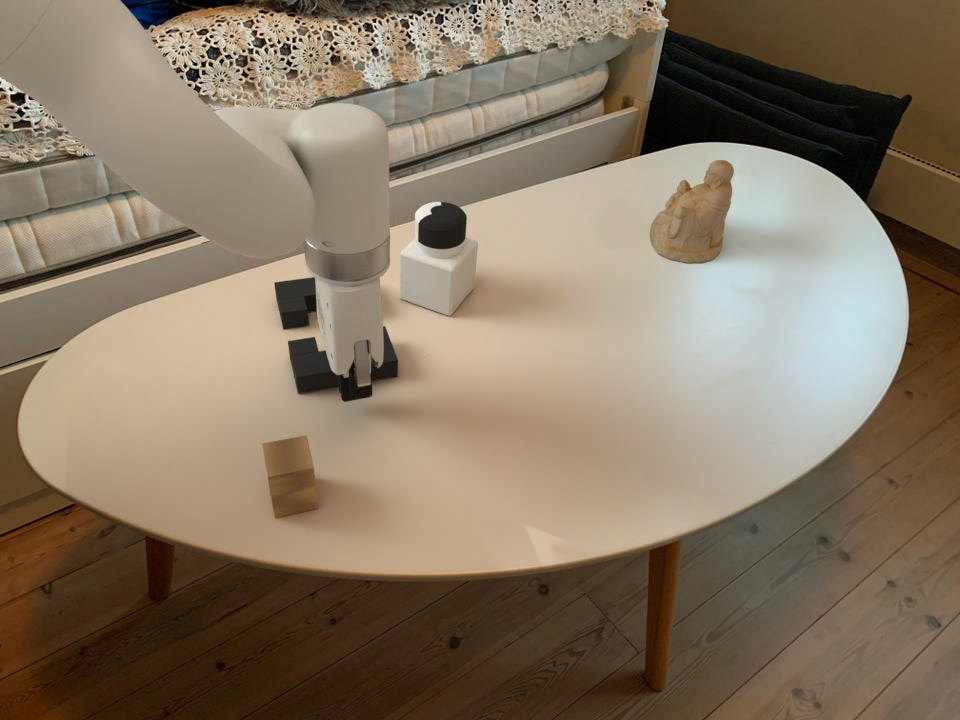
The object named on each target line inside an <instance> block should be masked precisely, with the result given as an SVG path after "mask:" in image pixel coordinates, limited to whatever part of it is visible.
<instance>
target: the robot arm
mask: <svg viewBox="0 0 960 720" xmlns="http://www.w3.org/2000/svg"><path fill="white" fill-rule="evenodd" d="M0 78H2V79H3V80H4V81H6V82H8V83H9V84H10V85H12V86H14V87H15V88H17V89H18V90H20V91H21V92H23V93H24V94H26V95H27V96H29V97H30V98H31V99H32V100H34V101H35V102H37V103H38V104H40V106H42V107H43V108H44V109H45V110H46V111H47V112H48V113H49V114H50V115H51V116H52V117H53V118H54V119H55V120H56V121H57V122H58V123H59V124H60V125H61V126H62V127H63V128H64V129H65V130H66V131H67V132H68V133H69V134H71V135H72V136H73V137H74V138H75V139H76V140H77V141H78V142H79V143H81V144H82V145H83V146H84V147H85V148H86V149H88V150H89V151H90V152H91V153H92V154H93V155H94V156H96V158H98V159H99V160H100V161H101V162H102V163H103V164H104V165H106V166H107V167H108V168H109V169H110V170H111V171H112V172H113V173H114V174H115V175H117V176H118V177H119V178H120V179H121V180H122V181H123V182H125V183H126V184H127V185H128V186H129V187H130V188H132V189H133V190H134V191H135V192H136V193H138V195H140V196H142V197H143V198H144V199H145V200H146V201H148V202H149V203H150V204H151V205H153V206H154V207H156V208H158V209H159V210H160V211H162V212H163V213H165V214H166V215H167V216H169V217H170V218H172V219H174V220H175V221H177V222H179V223H180V224H182V225H183V226H185V227H187V228H188V229H190V230H192V231H193V232H195V233H197V234H198V235H200V236H201V237H204V239H207V240H209V242H212V243H213V244H215V245H217V246H218V247H220V248H223V249H225V250H227V251H229V252H231V253H232V254H233V253H234V254H236V255H239V256H243V257H245V258H250V259H251V258H253V259H262V260H263V259H264V260H266V259H273V258H274V259H275V258H279V257H282V256H285V255H288V254H289V253H291V252H293V251H295V250H296V249H298V247H299V246H301V245H302V244H303V251H304V262H305V267H306V270H307V271H308V273H309V274H310V275H311V276H312V277H314V278H315V283H316V303H317V311H316V316H317V317H316V319H317V323H318V328H319V331H320V332H319V333H320V335H321V339H322V343H323V346H324V349H325V350H326V354H327V357H328V361H329V364H330V367H331V370H332V371H333V372H334V373H335V374H337V375H338V383H339V387H338V391H339V394H340V398H341V401H342V402H345V403H346V402H353V401H356V400H364V399H368V398H371V397H372V396H373V381H372V369H371V357H372V360H373V363H374V366H375V367H377V368H379V367H380V366H381V365H382V363H383V354H384V342H383V326H384V321H383V320H384V319H383V303H382V302H383V301H382V300H383V296H382V289H381V277H383V276H384V275H385V274H386V273H387V271H388V270H389V269H390V266H391V213H390V212H391V211H390V210H391V207H390V205H391V203H390V200H391V199H390V196H391V195H390V141H389V140H390V139H389V132H388V128H387V125H386V123H385V121H384V120H383V118H382V117H381V116H380V115H379V114H378V113H377V112H375V111H373V110H372V109H370V108H368V107H366V106H363V105H359V104H354V103H347V102H331V103H325V104H320V105H317V106H314V107H311V108H309V109H288V108H272V107H261V106H260V107H259V106H230V107H229V106H228V107H224V108H220V109H217V110H213V109H211V107H210V106H208V105H207V104H206V103H205V102H204V101H203V100H202V99H201V97H199V96H198V95H197V94H196V92H194V91H193V90H192V89H191V87H190V86H189V85H188V84H187V82H185V81H184V80H183V78H181V76H180V75H179V74H178V72H176V70H175V69H174V68H173V67H172V65H171V64H170V62H168V60H167V59H166V58H165V57H164V55H163V53H162V52H161V50H160V49H159V48H158V47H157V45H156V44H155V42H154V41H153V39H152V38H151V36H150V35H149V33H148V32H147V31H146V29H145V28H144V26H142V24H141V22H140V21H139V20H138V19H137V18H136V16H135V15H134V14H133V13H132V12H131V11H130V9H129V8H128V7H127V6H126V4H124V3H123V1H122V0H0ZM325 350H324V351H325Z"/></svg>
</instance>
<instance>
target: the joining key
mask: <svg viewBox="0 0 960 720" xmlns="http://www.w3.org/2000/svg"><path fill="white" fill-rule="evenodd" d="M261 447H262V451H263V452H262V453H263V458H264V465H265V471H266V477H267V482H268V483H267V484H268V487H269V493H270V499H271V500H270V501H271V505H272V511H273V517H274V518H275V519H277V518H283V517H286V516H291V515H296V514H300V513H306V512H309V511H314V510H318V509H319V502H318V493H317V485H316V484H317V483H316V476H315V468H314V462H313V458H312V454H311V449H310V445H309V440H308V436H307V435H300V436H295V437H290V438H285V439H279V440H274V441H273V440H272V441H269V442H264V443H262V444H261Z"/></svg>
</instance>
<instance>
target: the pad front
mask: <svg viewBox="0 0 960 720" xmlns="http://www.w3.org/2000/svg"><path fill="white" fill-rule="evenodd" d="M383 342H384V354H383V363H382V365H381V366H380V367H379V368H377V367H375V366H374V363H373V360H372V357H371V369H372V382H374V381H380V380H385V379H390V378H391V379H392V378H396V377H398V376H399V359H398V356H397V354H396V351H395V348H394V346H393V344H392V341H391V337H390V335H389V332H388V329H387V327H386V326H385V325H383ZM287 347H288V354H289V361H290V364H291V365H290V366H291V369H292V374H293V378H294V382H295V386H296V391H297V394H305V393H311V392H317V391H322V390H328V389H334V388H339V383H338V375H337V374H335V373H334V372H333V371H332V370H331V367H330V364H329V361H328V357H327V354H326V350H319V347H318V343H317V339H316V337H315V336H312V337H305V338H304V337H303V338H299V339H298V338H297V339H291V340H288V341H287Z"/></svg>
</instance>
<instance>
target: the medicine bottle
mask: <svg viewBox="0 0 960 720" xmlns="http://www.w3.org/2000/svg"><path fill="white" fill-rule="evenodd" d="M467 223H468V217H467V214H466V212H465V210H463V208H461V207H460V206H458V205H457V204H454V203H452V202H446V201H433V202H428V203H425V204H423V205H421V206H420V207H419V208H418V209H417V210H416V211H415V214H414V238H413V239H412V240H411V241H410V242H409V243H408V244H407V245H406V246H405V247H404V248H403V249H402V250H401V251H400V253H399V299H401V300H402V301H405V302H408V303H411V304H413V305H417V306H418V307H422V308H424V309H428V310H429V311H430V310H431V311H433V312H436V313H439V314H442V315H445V316H446V317H450V316H452V315H453V314H454V313H455V311H456V310H457V309H458V308H459V306H461V304H462V303H463V301H464V300H465V299H466V298H467V296H469V295H470V293H471V291H472V290H473V289H474V288H475V286H476V285H475V284H476V271H477V260H478V250H479V249H478V246H479V243H478V240H475V239H472V238H469V237H467Z"/></svg>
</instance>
